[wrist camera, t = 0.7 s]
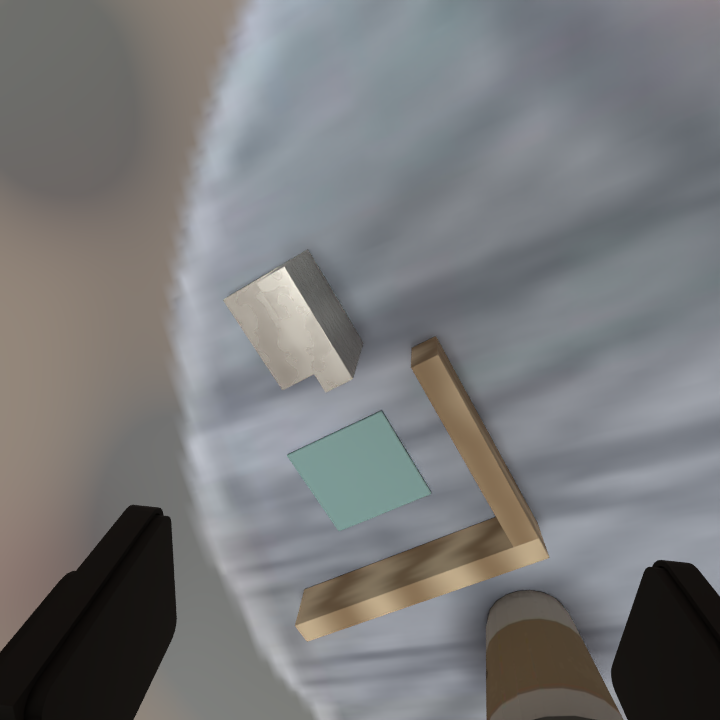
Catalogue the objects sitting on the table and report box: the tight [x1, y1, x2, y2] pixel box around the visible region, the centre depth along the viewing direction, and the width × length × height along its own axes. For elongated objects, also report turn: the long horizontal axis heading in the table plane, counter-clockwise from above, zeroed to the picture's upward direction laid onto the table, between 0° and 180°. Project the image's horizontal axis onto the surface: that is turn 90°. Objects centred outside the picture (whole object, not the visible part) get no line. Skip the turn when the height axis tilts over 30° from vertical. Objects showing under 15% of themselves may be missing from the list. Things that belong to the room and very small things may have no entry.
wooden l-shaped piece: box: [295, 336, 549, 641], centre depth 40 cm, size 22×18×4 cm
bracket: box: [223, 249, 364, 392], centre depth 34 cm, size 8×7×7 cm
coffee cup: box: [486, 590, 623, 720], centre depth 38 cm, size 11×11×15 cm
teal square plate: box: [287, 410, 431, 531], centre depth 42 cm, size 9×8×1 cm
